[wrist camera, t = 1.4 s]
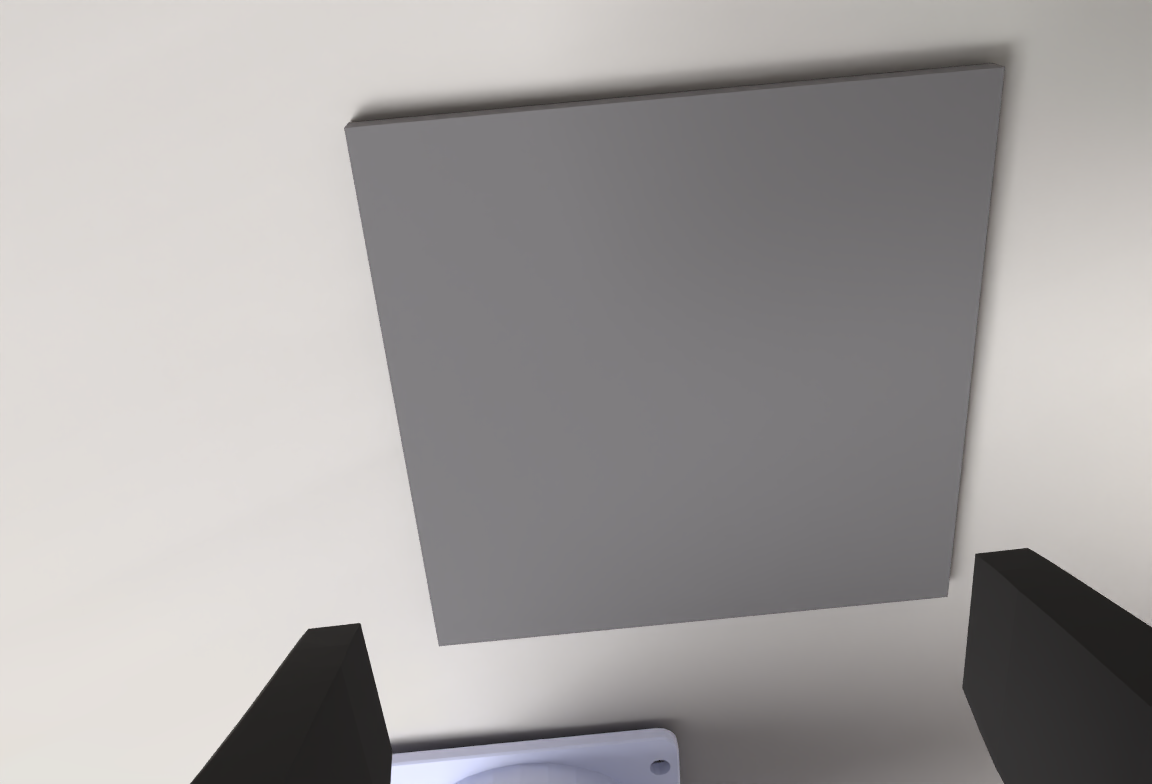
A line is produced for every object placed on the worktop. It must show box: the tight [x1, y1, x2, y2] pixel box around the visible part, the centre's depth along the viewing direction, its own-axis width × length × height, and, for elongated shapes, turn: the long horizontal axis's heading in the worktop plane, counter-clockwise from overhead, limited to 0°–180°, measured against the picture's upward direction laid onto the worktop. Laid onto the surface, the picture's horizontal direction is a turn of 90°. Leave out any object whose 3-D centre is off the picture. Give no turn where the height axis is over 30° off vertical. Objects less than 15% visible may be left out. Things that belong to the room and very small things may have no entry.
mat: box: [344, 63, 1005, 646], centre depth 21 cm, size 12×12×1 cm
